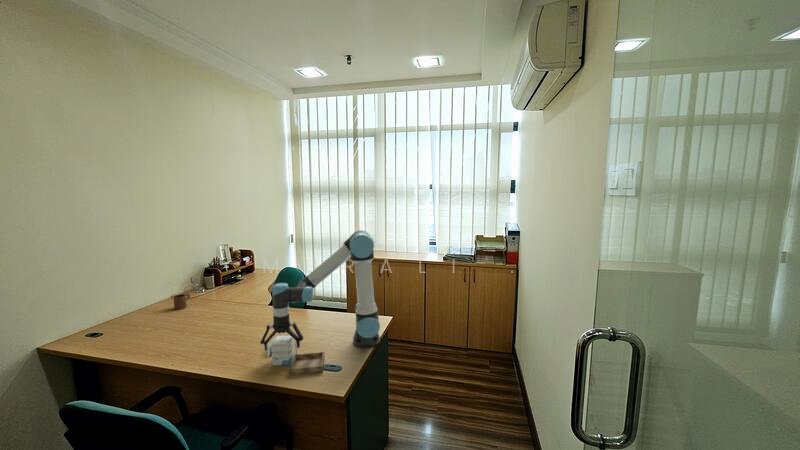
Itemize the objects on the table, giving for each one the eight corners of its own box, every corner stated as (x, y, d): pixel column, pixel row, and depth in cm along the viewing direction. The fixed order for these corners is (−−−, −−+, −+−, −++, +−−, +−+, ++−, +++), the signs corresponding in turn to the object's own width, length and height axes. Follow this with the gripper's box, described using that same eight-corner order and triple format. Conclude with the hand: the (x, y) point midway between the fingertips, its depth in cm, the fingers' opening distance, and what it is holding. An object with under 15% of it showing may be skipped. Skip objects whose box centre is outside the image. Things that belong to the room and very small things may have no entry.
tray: (324, 357, 162) (324, 351, 162) (322, 371, 149) (322, 365, 148) (295, 359, 160) (294, 354, 159) (290, 375, 146) (290, 369, 146)
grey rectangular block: (273, 345, 175) (272, 338, 175) (279, 345, 176) (279, 337, 175) (268, 354, 165) (268, 346, 165) (275, 354, 166) (275, 346, 165)
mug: (186, 303, 241) (185, 291, 240) (194, 304, 239) (193, 292, 238) (171, 309, 229) (170, 297, 228) (180, 310, 227) (179, 297, 226)
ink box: (294, 356, 163) (293, 334, 162) (289, 365, 155) (288, 342, 153) (277, 356, 163) (276, 335, 162) (271, 365, 154) (270, 343, 153)
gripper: (307, 310, 162) (309, 348, 164) (256, 313, 158) (258, 353, 160) (306, 315, 155) (307, 356, 157) (252, 319, 150) (254, 360, 152)
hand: (282, 354), depth 158 cm, fingers open, 13 cm apart
